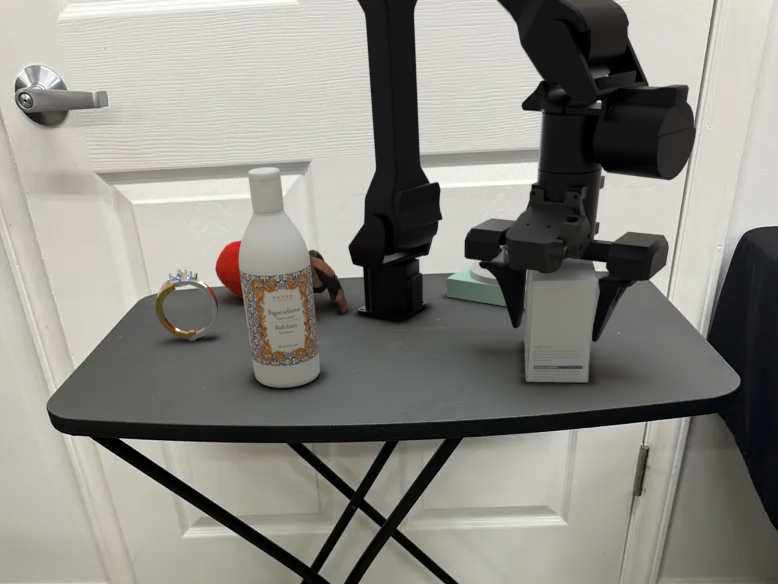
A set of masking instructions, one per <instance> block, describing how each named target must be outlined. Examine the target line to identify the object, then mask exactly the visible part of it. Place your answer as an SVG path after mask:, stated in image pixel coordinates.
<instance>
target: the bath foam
mask: <svg viewBox="0 0 778 584" xmlns="http://www.w3.org/2000/svg"><path fill="white" fill-rule="evenodd" d="M247 179H248V184H249V193H250V200H251V207H252V208H251V209H252V214H251V217H250V219H249V222H248V224H247V226H246V228H245V230H244V232H243V236H242V238H241V240H240V241H241V244H240V250H239V271H240V278H241V285H242V292H243V298H242V299H243V305H244V312H245V318H246V319H245V320H246V327H247V331H248V339H249V346H250V353H251V354H250V355H251V359H252V366H253V373H254V376H255V379H256V380H257V381H258V382H259V383H260V384H262V385H264V386H267V387H271V388H277V389H285V388H286V389H288V388H296V387H300V386H304V385H306V384H308V383H311V382H312V381H314V380H316V378H318V376H319V374H320V372H321V363H320V353H319V350H320V349H319V340H318V339H319V338H318V329H317V319H316V317H317V316H316V309H315V308H316V307H315V297H314V294H313V284H312V273H311V263H310V257H309V253H308V251H309V250H308V246H307V243H306V241H305V239H304V237H303V235H302V233H301V232H300V230H299V228H297V226H296V225H295V223H294V222H293V221H292V219H291V218H290V216H289V215H288V214H287V213H286V211H285V207H284V195H283V186H282V177H281V170H280V168H278V167H272V166H271V167H270V166H267V167H257V168H252V169H250V170H248V172H247Z"/></svg>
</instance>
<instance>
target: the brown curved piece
mask: <svg viewBox="0 0 778 584" xmlns="http://www.w3.org/2000/svg"><path fill="white" fill-rule="evenodd" d="M308 253H309V257H310V263H311V273H312V284H313V295H314V294H323V293H324V292H325V291H327V293H328V295H329V300H330V301H331V302H336V304H337V305H339V311H340V313H341V314H345V313H346V312H347V309H348V301H347V299H346V296H345V290H344V289H343V286H342V285H341V281H340V280H339V277H338V276H337V274H336V271H335V270H334V269H333V268H332V267H331V266H330V265H329V264H328V263H327V262H326V261H325V259H324V256H323V255H322V254H321V253H320V252H319V251H318V250H315V249H309V250H308Z"/></svg>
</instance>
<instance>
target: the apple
mask: <svg viewBox="0 0 778 584" xmlns="http://www.w3.org/2000/svg"><path fill="white" fill-rule="evenodd" d="M241 241H242V240H236V241H231V242H230V243H228V244H227V245H225V247H224V248H223V250H221V252H220V253H219V255H218V256H217V257H218V258H217V259H216V261H215V270H214V271H215V274H216V276H217V278H218V280H219V281H220V283H221V284H222V285H223V286H224V287H225V288H227V289H228V290H229V291H230V292H231V293H232V294H234V296H236V297H238V298H241V299H243V292H242V285H241V278H240V271H239V250H240V244H241Z"/></svg>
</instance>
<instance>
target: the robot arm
mask: <svg viewBox="0 0 778 584" xmlns="http://www.w3.org/2000/svg"><path fill="white" fill-rule="evenodd" d="M418 1H419V0H357V3H358V4H359V6H360V8H361V10H362V11H363V13H364V18H365V30H366V46H367V60H368V73H369V88H370V103H371V115H372V116H371V118H372V131H373V132H372V134H373V145H374V146H373V147H374V160H375V171H374V173H373V176H372V178H371V181H370V183H369V186H368V189H367V190H366V194H365V196H364V211H363V212H364V213H363V224H362V225H361V227H360V229H358V231H357V232H356V234H355V236H354V237H353V238H352V240H350V243H349V245H347V248H348V253H349V256H350V260H351V264H352V265H354V266H357V267H361V268H362V274H363V275H362V276H363V294H364V305H363V306H361V307H359V308H358V309H357V313H358V315H364V316H370V317H375V318H380V319H386V320H391V321H396V322H401V321H404V320H406V319H407V318H409V317H411V316H412V315H414V314H416V313H417V312H419V311H421V310H422V309H424V308H426V307H427V305H428V304H427V303H428V302H427V301H425V300H424V284H423V283H424V281H423V280H424V277H423V273H422V272H420V270H421V269H420V259H419V258H421V257H426V256H429V254H430V250H431V248H432V243H433V239H434V237H435V236H437V234H438V231H439V223H440V221H442V220H443V214H442V211H441V186H440V183H439V182H438V181H434V182H430V180H429V178H428V176H427V174H426V173H425V171H424V169H423V168H422V164H421V147H420V125H419V124H420V123H419V100H418V99H419V98H418V77H417V76H418V75H417V52H416V50H417V49H416V29H415V27H416V26H415V25H416V23H415V9H416V7H417V4H418ZM495 1H496V2H497V3H498V4H499V5H500V7H502V8H503V10H504V11H506V13H507V14H509V16H510V17H511V19H512V21H513V22H514V24H515V26H516V28H517V32H518V38H519V43H520V47H521V49H522V51H523V52H524V53H525V55H526V56H527V58H528V60H529V61H530V63H531V65H532V66H533V67H534V69H535V71H536V72H537V74H538V75H539V76H540V77H541V79H542V80H540V81H539V83H538V85H537V87H536V88H535V89H534V90H533V91H532V92H531V93H530V94H529V95H528V96H526V98H525V99H524V100H523V101H522V102H521V105H520V106H521V109H522V110H523V111H524V112H537V113H538V112H539V113H541V118H540V134H539V149H538V161H537V175H536V176H537V178H536V182H533V183H532V184H531V186H530V191H529V197H528V203H527V205H526V208H525V210H524V211H522V212H521V213H520V214H519V215H518V217H517V218H516V219H515V220H514V219H504V218H493V217H491V218H488V219H487V220H485V221H483V222H481V223H479V224H476V225H475V226H473V227H471V228H470V229H469V230H468V231H467V233H466V235H465V238H464V252H463V253H464V255H463V257H464V258H465V259H466V260H473V261H477V260H480V261H481V262H479V266H480V267H481V268H482V269H487V270H488V271H489V272H490V273H491V274H492V275H493V276H494V277H495V278H496V279H497V282H498V284H499V286H500V288H501V291H502V294H503V297H504V300H505V303H506V306H505V307H506V309H507V313H508V316H509V319H510V322H511V323H510V324H511V326H512V328H513V329H519V327H521V325H522V321H523V315H524V311H525V309H524V298H525V286H526V274H527V270H535V271H539V272H540V273H544V274H550V273H553V272H555V271H557V270H558V269H559V268H560V266H561V264H562V261H563V260H564V259H567V258H571V259H579V260H588V261H593V262H597V263H605V269H606V270H607V272H606V273H604V275H602V276H601V277H600V278H598V279H599V280H598V290H599V293H598V298H597V302H596V307H595V312H594V320H593V330H592V340H591V342H593V343H596V342H598V340H599V339H601V336H602V335H603V332H604V330H605V328H606V326H607V325H608V323H609V320H610V319H611V317H612V315H613V312H614V311H615V309H616V307H617V306H618V303H619V302H620V300H621V298H622V297H623V295H624V293H625V292H626V290H627V289H628V288H630V287H632V286H633V285H635V284H636V283H637V282H643V281H650V280H651V279H652V278H654V276H655V275H657V274H658V273H659V272H660V271H661V270H662V269H663V268H665V267H666V266H667V261H668V255H669V251H670V245H669V242H668V240H667V238H666V236H665V235H664V234H657V233H646V232H636V231H627V232H626V233H624V234H623V235H621V236H620V237H618V238H617V239H615V240H613V241H611V240H602V239H595V236H596V235H598V234H599V232H600V231H599V230H600V222H599V221H597V216H598V207H599V199H600V190H602V189H604V188H605V180H606V179H605V178H606V175H602V172H603V171H605V172H606V173H607V174H614V175H621V176H623V175H624V176H631V177H637V178H647V179H655V180H663V181H672V180H674V179H675V178H676V177H678V176H679V175H680V174H681V172H683V170H684V168H685V167H686V165H687V163H688V161H689V159H690V157H691V154H692V151H693V148H694V144H695V140H696V136H697V135H696V134H697V128H696V127H695V117H694V116H695V115H694V111H693V108H692V106H691V104H689V102H688V98H689V90H690V87H689V86H688V84H670V85H665V86H652V85H651V86H650V84H649V81H648V79H647V76H646V73H645V72H644V69H643V67H642V65H641V63H640V60H639V58H638V56H637V54H636V51H635V49H634V47H633V44H632V42H631V39H630V38H629V25H630V21H629V17H628V15H627V13H626V11H625V9H624V8H623V7H622V5H620V4H619V3H617V1H615V0H495ZM602 170H603V171H602Z"/></svg>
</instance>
